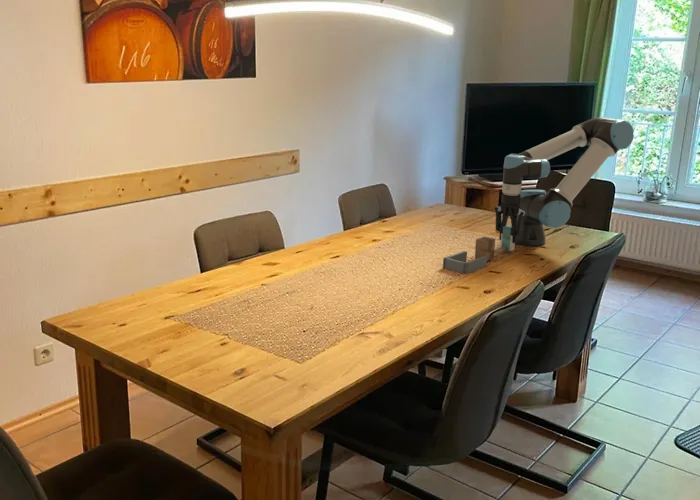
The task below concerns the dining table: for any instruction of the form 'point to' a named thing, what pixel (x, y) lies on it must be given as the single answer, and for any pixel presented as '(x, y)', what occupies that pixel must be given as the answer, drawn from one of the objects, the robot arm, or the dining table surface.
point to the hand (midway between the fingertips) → (507, 248)
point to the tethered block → (492, 244)
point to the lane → (463, 263)
